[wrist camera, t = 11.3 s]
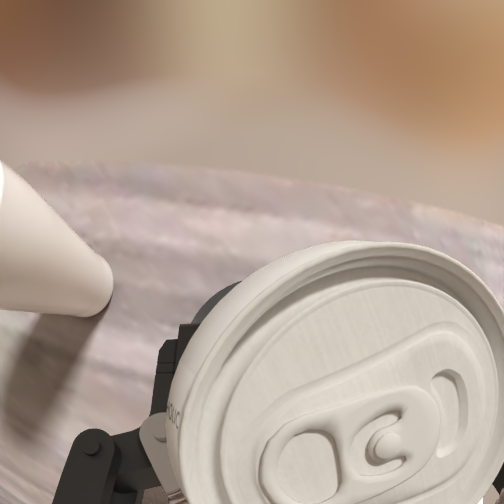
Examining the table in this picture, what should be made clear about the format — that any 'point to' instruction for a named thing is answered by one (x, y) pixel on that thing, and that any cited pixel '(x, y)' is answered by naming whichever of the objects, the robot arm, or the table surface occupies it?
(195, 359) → the beer can
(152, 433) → the robot arm
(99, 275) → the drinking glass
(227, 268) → the table surface
